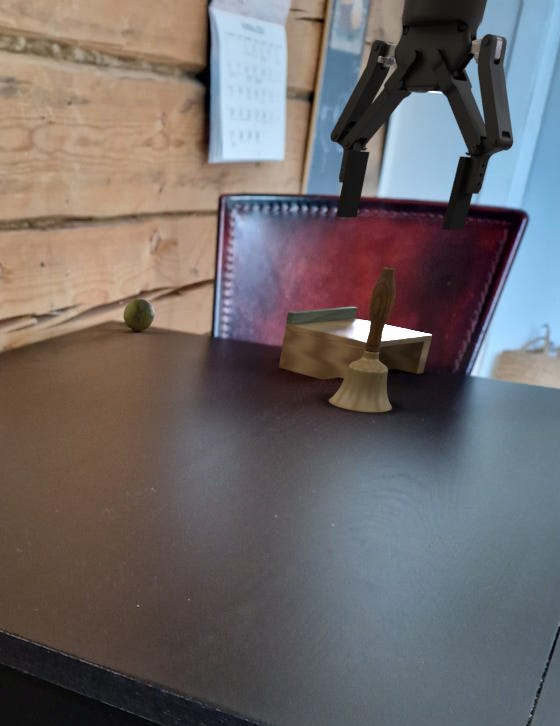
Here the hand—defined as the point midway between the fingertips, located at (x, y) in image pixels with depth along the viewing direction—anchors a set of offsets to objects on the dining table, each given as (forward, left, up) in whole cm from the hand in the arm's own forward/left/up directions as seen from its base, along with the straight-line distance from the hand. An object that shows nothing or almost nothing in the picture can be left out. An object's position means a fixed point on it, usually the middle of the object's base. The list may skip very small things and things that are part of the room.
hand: (396, 223), depth 92 cm
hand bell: (0, 0, -21) cm, 21 cm away
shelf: (+14, -16, -20) cm, 29 cm away
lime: (+50, -7, -21) cm, 54 cm away
